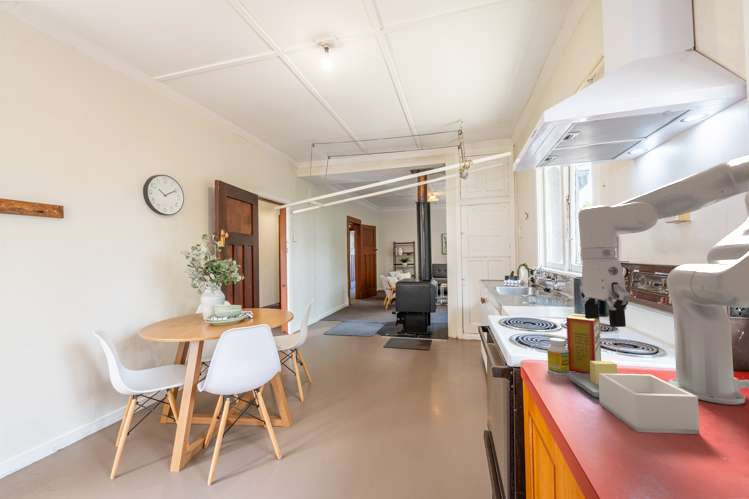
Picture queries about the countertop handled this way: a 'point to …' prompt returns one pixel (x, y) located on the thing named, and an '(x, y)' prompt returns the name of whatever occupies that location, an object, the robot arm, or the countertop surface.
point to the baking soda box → (583, 342)
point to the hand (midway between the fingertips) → (604, 322)
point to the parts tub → (649, 403)
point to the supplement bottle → (558, 357)
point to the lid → (593, 376)
